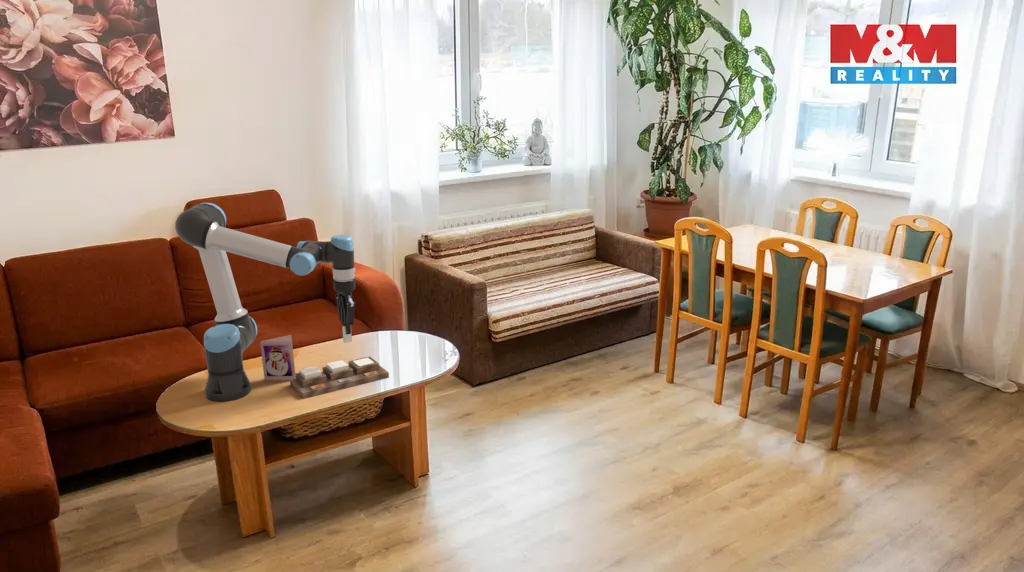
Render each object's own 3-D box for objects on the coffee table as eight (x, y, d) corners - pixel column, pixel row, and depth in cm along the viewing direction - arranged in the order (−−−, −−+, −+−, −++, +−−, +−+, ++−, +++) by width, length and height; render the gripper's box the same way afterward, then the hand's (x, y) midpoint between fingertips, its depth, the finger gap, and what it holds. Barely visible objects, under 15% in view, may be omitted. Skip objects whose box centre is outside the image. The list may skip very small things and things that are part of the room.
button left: (305, 381, 277) (305, 375, 276) (299, 376, 282) (299, 369, 281) (322, 377, 280) (321, 371, 279) (316, 372, 285) (315, 366, 284)
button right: (359, 372, 288) (359, 366, 287) (353, 367, 293) (352, 361, 292) (374, 368, 291) (374, 362, 290) (368, 363, 296) (367, 357, 295)
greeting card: (263, 381, 287) (259, 342, 283) (269, 372, 294) (265, 334, 290) (295, 380, 287) (291, 341, 282) (300, 372, 294) (296, 334, 290)
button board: (303, 398, 272) (302, 386, 271) (290, 384, 283) (289, 373, 282) (388, 377, 289) (388, 365, 287) (373, 365, 300) (372, 354, 299)
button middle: (332, 375, 282) (332, 368, 281) (326, 369, 287) (326, 363, 286) (348, 371, 285) (348, 365, 285) (342, 366, 290) (342, 360, 289)
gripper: (361, 281, 276) (364, 345, 283) (346, 273, 286) (349, 334, 293) (341, 285, 272) (344, 349, 279) (327, 276, 282) (330, 338, 289)
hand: (347, 341), depth 286 cm, fingers closed
